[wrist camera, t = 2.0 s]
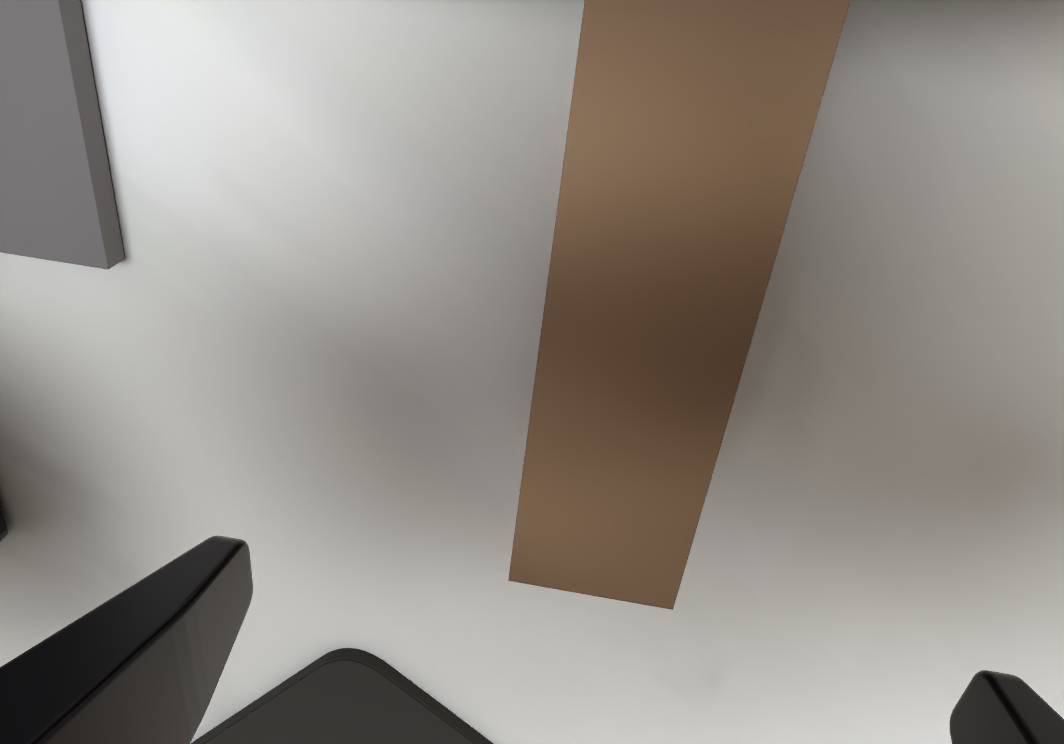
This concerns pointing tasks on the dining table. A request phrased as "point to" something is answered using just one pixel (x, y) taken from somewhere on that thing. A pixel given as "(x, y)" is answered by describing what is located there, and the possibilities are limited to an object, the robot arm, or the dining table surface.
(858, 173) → the dining table surface
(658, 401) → the t-shaped pusher tool
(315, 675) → the phone
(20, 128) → the tool mat
